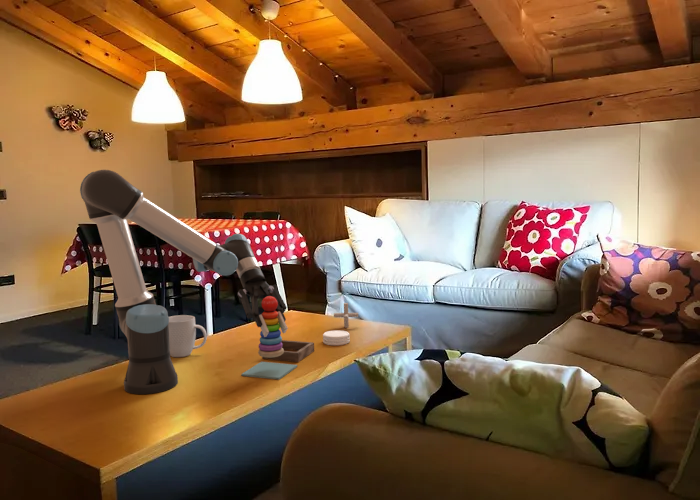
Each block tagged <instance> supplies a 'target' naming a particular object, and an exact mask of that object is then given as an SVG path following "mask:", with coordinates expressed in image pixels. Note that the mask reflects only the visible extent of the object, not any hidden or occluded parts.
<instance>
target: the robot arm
mask: <svg viewBox="0 0 700 500" xmlns="http://www.w3.org/2000/svg"><path fill="white" fill-rule="evenodd" d="M79 193H80V196H81V199H82V201H83V203H84V204H85V207H86V211H87V215H88V217H89V218H88V219H89V220H90V221H92V222H93V223H95V224H96V226H97V229H98V233H99V237H100V240H101V243H102V247H103V251H104V254H105V257H106V259H107V260H106V261H107V264H108V266H109V271H110V274H111V277H112V282H113V284H114V289H115V292H116V295H117V301H116V302H115V303H114V307H115V310H116V314H117V316H118V317H117V318H118V326H119V329H120V330H121V332H122V333H123V334H124V335H125V337H126V339H127V340H126V341H127V349H128V350H127V353H128V365H127V369H126V373H125V377H124V380H123V388H124V389H123V390H124V391H125V392H127V393H129V394H134V395H147V394H148V395H149V394H157V393H161V392H164V391H168V390H170V389H173V388H174V387H176V386H177V385H178V384H179V380H178V379H179V377H178V373H177V372H176V368H175V366H174V363H173V361H172V359H171V355H170V342H169V323H168V322H169V317H170V316H169V313H168V310H167V309H166V307H165V306H163V305H158V304H157V303H156V299H155V297H154V293H152V292H151V291H148V290H147V286H146V283H145V280H144V276H143V273H142V269H141V266H140V262H139V257H138V254H137V252H136V247H135V245H134V244H135V243H134V241H133V238H132V233H131V229H130V226H129V222H128V220H129V221H131V222H133V223H135V224H136V225H138V226H140V227H141V228H143V229H145V230H146V231H148V232H150V233H151V234H152V235H154V236H156V237H158V238H159V239H161V240H163V241H165V242H166V243H167V244H169V245H171V246H172V247H174V248H175V249H177V250H179V251H180V252H182V253H184V254H185V255H187V256H188V257H190V258H192V261H193V262H192V263H193V266H194V269H195V270H196V272H198V273H202V272H208V271H212V272H215V273H216V274H217V275H220V276H230V275H233V274H234V273H235V272H236V273H237V275H238V278H239V280H240V283H241V285H242V288H243V289H241V288H239V290H238V292H237V297H238V299H240V301H241V304H242V308H243V310H244V312H245V315H246V318H247V319H248V320H249V319H251V320H252V321H253V322H255V324H256V326H257V328H260V331H262V333H263V335H264V337H267V335H268V333H269V330H268V328H267V326H266V323H265V321H264V319H263V317H262V313H261V314H260V312H259V311H260V310H259V301H258V299H262V300H263V299H264V298H265V297H267V296H272V297H274V298H276V300H277V302H278V306H277V308H276V310H275V311H277V312H278V316H277V318H278V320H279V322H278V324H279V325H280V331H281V333H282V334H286V332H287V330H288V329H289V327H288V325H287V323H286V316H285V312H286V310H287V305H286V303H285V302H284V299H283V297H282V295H281V294H280V292H279V290H278V286H277V284H273V285H269V284H268V283H267V281H266V278H265V275H264V273H263V271H262V270H261V267H260V264H259V262H258V260H257V259H256V257H255V255H254V251H253V249H252V247H251V244H250V243H249V241H248V239H247V237H246V236H245V235H244V234H241V233H234V234H232V235H230V236H228V237H227V238H226V239H225V241H224V243H222V244H218V243H216V242H214V241H213V240H211V239H210V238H208V237H206V236H205V235H204V234H202V233H201V232H199V231H198V230H195V229H194V228H192V226H190V225H188V224H187V223H185V222H183V221H182V220H180V219H179V218H177V217H175V216H174V215H173V214H171V213H169V212H168V211H167V210H164V209H163V208H162V207H160V206H158V205H157V204H156V203H153V202H152V201H151V200H149V199H147V198H146V197H145V196H144V192H143V191H142V190H140V189H139V188H137V187H135V186H134V185H133V184H131V183H130V182H129V181H128V180H127V179H125V178H124V177H123V176H122V175H121V174H120V173H117V172H116V171H113V170H109V169H99V170H95V171H92V172H90V173H87V175H85V177H84V178H83V179H82V181H81V184H80V189H79ZM247 295H248V296H249V297H250V301H249V297H248V296H247Z"/></svg>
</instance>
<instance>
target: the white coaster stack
mask: <svg viewBox="0 0 700 500" xmlns="http://www.w3.org/2000/svg"><path fill="white" fill-rule="evenodd" d="M350 335H351V334H350V333H349V332H348V331H346V330H337V329H335V330H328V331H325V332H324V333H323V334H322V342H323V344H324V345H327V346H343V345H347V344H349V343H350V341H351V340H350V338H351V337H350Z"/></svg>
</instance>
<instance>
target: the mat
mask: <svg viewBox="0 0 700 500" xmlns="http://www.w3.org/2000/svg"><path fill="white" fill-rule="evenodd" d="M297 368H298V364H290V363H282V362H281V363H279V362H271V361H269V362H268V361H260V362H259V363H256V364H255V365H253V366H252V367H250V368H249V369H247V370H245V371H244V372H242V373H241V377H251V378H258V379H260V378H261V379H267V380H269V379H270V380H281V379H283V378H284V377H285V376H286V375H288V374H289V373H291V372H292V371H294V370H295V369H297Z"/></svg>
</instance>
